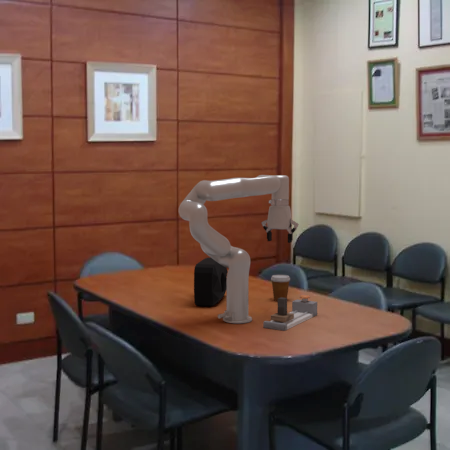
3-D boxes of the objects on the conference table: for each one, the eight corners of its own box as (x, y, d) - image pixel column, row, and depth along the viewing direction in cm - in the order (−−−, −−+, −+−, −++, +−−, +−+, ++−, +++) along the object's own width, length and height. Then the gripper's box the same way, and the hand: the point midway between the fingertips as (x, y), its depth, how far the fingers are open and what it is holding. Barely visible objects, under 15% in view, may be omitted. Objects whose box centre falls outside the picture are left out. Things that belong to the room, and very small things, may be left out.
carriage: (285, 322, 296) (285, 301, 295) (270, 320, 300) (270, 299, 299) (293, 318, 303) (294, 297, 302) (279, 316, 306) (279, 295, 305)
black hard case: (208, 294, 364) (207, 255, 362) (231, 295, 362) (231, 256, 359) (193, 307, 335) (193, 265, 332) (219, 308, 332) (218, 266, 330)
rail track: (284, 330, 292) (284, 316, 292) (263, 327, 298) (263, 313, 297) (317, 314, 320) (317, 301, 319) (297, 312, 325) (297, 299, 324)
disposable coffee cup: (274, 303, 344) (274, 278, 343) (268, 298, 353) (268, 275, 352) (292, 301, 347) (293, 277, 345) (286, 297, 356) (286, 274, 354)
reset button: (307, 302, 316) (307, 297, 316) (298, 301, 319) (298, 296, 318) (311, 300, 320) (311, 295, 320) (302, 299, 322) (302, 294, 322)
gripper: (258, 203, 315) (258, 241, 316) (295, 204, 307) (294, 244, 309) (265, 201, 321) (265, 239, 323) (301, 203, 313) (300, 242, 315)
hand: (279, 241), depth 316 cm, fingers open, 9 cm apart
